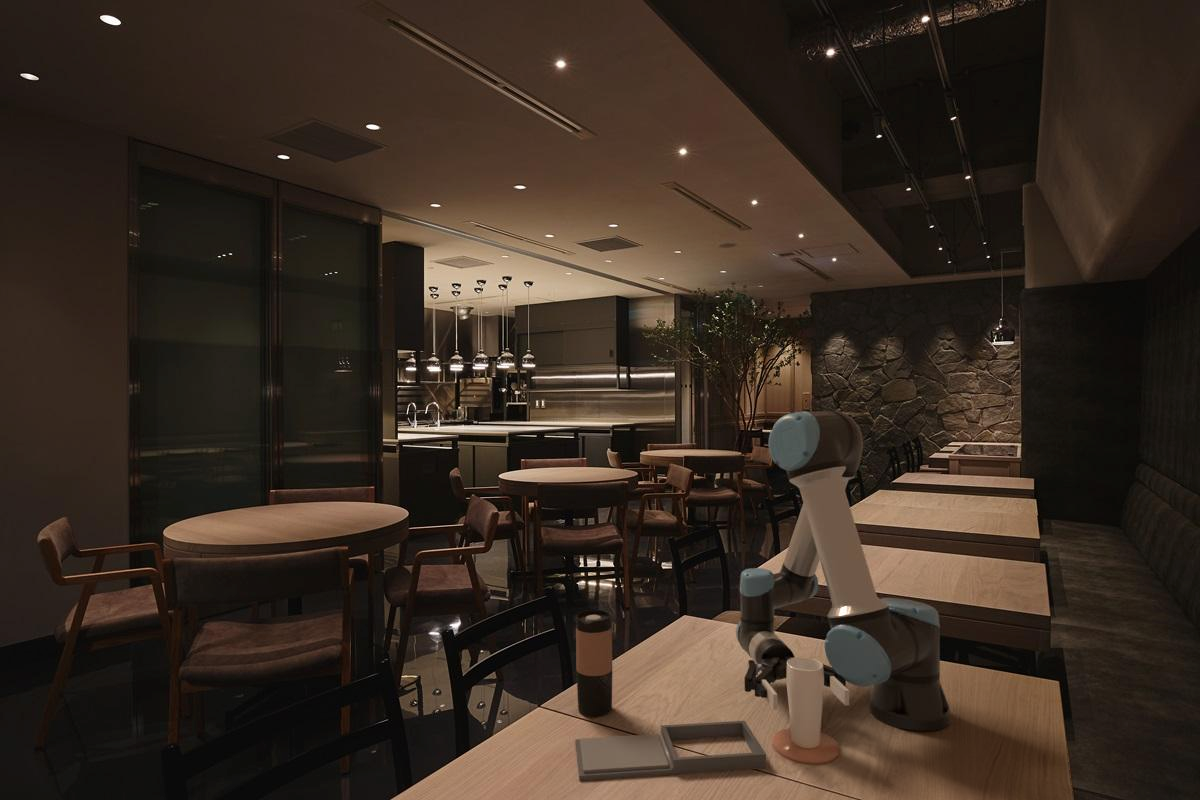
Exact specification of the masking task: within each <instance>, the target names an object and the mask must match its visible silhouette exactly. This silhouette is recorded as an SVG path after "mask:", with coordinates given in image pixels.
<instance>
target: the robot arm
mask: <svg viewBox="0 0 1200 800" xmlns="http://www.w3.org/2000/svg"><path fill="white" fill-rule="evenodd" d="M861 431H862V430H861V428H860V427H859V425H858V423H856V421H855V420H854V419H853V418H852V417H850V416H849V415H848V414H846V413H844V412H841V411H838V410H824V411H823V410H821V411H806V410H804V411H801V410H800V411H798V412H792V413H791V412H790V413H788V414H785V415H782V416H781V417H780V418H779V419H777V421H776V422H775V423H774V425H773V427H772V430H771V431H770V433H769V437H768V450H769V455H770V458H771V459H772V461H773V463H774V464H775V465H777V466H778V467H779V468H780V469H783V470H784V471H786V474H787V477H788V481H789V483H791V484H792V485H794V486H796V487H797V488H798V490H799V492H800V495H801V496H800V497H801V499H802V502H803V503H802V507H801V509H800V512H799V515H798V519H797V521H796V524H795V527H794V530H793V533H792V536H791V540H790V543H789V545H788V547H787V550H786V551H787V552H786V553H785V557H784V560H783V563H782V566H781V568H780V570H779V572H777V573H773V572H772V571H771V569H770V570H769V569H767V568H759V567H758V568H757V567H754V568H746V569H744V570H743V571H741V573H740V581H739V593H740V594H739V596H740V599H739V600H740V601H739V602H740V620H739V622H738V623H737V625H736V628H735V636H736V639H737V641H738V643H739V645H740V646H741V649H742V650H744V652H746V654H747V655H748V656H749V657H750V658H751V660H748V665H747V666H748V667H747V671H746V674H745V676H744V692H746V693H750V692H752V691H754V696H755V697H756V698H757V697H758V698H762V699H765V700H766V702H767V703H768V704H769V705H770V707H771V708H772V710H778V693H777V692H776V690H774V688H773V687H772V686H771V685H770V684H771V683H775V682H777V681H779V680H783V679H786V669H787V661H788V660H789V659H791V658H794V657H796V656H795V654H794V652H793V651H792V650H791V648H789V646H788V645H787V644H786V643H785V642H784V641H783V640H781V638H779V637H778V635H777V634H775V609H779V608H781V607H785V606H789V605H793V604H797V603H802V602H804V601H805V602H806V601H807V600H808V599H810V598H813V597H814V596H816V594H817V593H818V591H819V588H820V587H819V579H818V578H819V577H817V574H816V571H817V569H818V566H819V563H820V565H821V569H822V573H823V576H824V579H825V584H826V587H827V590H828V594H829V596H830V601H831V604H832V606H831V608H830V610H829V612H828V614H827V618H828V622H829V626H830V630H829V631H828V632H827V634H826V638H825V639H824V642H823V643H824V653H825V655H826V656H825V657H826V658H827V661H828V663H829V665H830V666H829V665H828V664H824V663H822V664H823V669H824V687H827V688H829V691H830V692H831V693H832V694H833V695H834V696H835V697H837V699H838V700H839V701H840V702H841V703H842V704H843V705H844V706H850V690H849V689H848V688H847V683H849V684H851V685H854V686H856V687H863V688H865V687H866V688H867V687H871V686H872V688H871V692H870V694H869V698H868V699H869V700H868V701H869V702H868V704H869V711H870V713H871V714H872V715H873V716H874V717H875V718H876V719H878V720H879V721H880V722H883V723H885V724H887V725H891V726H893V727H895V728H899V729H903V730H907V731H915V732H935V731H939V730H943V729H945V728H946V727H948V726H949V725H950V722H951V711H950V705H949V704H948V703H949V702H948V700H947V698H946V694H945V692H944V688H943V687H942V683H941V672H940V671H941V665H940V663H941V659H940V656H941V654H940V653H941V652H940V648H941V645H940V644H941V643H940V638H941V637H940V629H941V625H940V619H939V618H940V617H939V616H940V615H939V612H938V611H937V609H936V608H935V607H933V606H932V605H930V604H927V603H924V602H919V601H916V600H911V599H905V598H898V597H883V598H882V597H881V598H879V597H878V595H877V592H876V588H875V586H874V583H873V579H872V575H871V573H870V568H869V565H868V562H867V559H866V555H865V553H864V550H863V546H862V542H861V539H860V536H859V532H858V530H857V526H856V523H855V519H854V516H853V513H852V509H851V506H850V503H849V500H848V497H847V493H846V488H847V485H848V483H849V481H850V480H852V479H854V478H855V477H856V475H857V471H858V468H859V467H860V463H861V459H862V456H863V449H864V448H863V447H864V442H863V441H864V440H863V434H862V432H861ZM807 657H808V656H807ZM808 658H811V657H808ZM948 724H949V725H948Z"/></svg>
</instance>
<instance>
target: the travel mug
mask: <svg viewBox="0 0 1200 800" xmlns="http://www.w3.org/2000/svg"><path fill="white" fill-rule="evenodd" d="M575 625H576V626H575V638H576V639H575V641H576V642H575V650H576V651H575V652H576V653H575V655H576V656H575V657H576V659H575V660H576V663H575V664H576V665H575V666H576V687H577V688H576V689H577V691H576V692H577V709H578V712H579V713H580V715H582V714H583V716H584V715H585V716H584V717H588V716H589V717H588V718H598V716H601V717H604V716H603V715H605V716H607V715H608V713H609V712H610V711H611V712H612V708H613V639H612V638H613V637H612V636H613V635H612V630H613V629H612V615H611V613H610V612H608V611H606V610H599V609H590V610H589V609H588V610H584V611H580V612H578V613H577V614H576V617H575ZM611 712H610V713H611ZM610 713H609V714H610ZM606 714H607V715H606Z"/></svg>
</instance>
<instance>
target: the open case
mask: <svg viewBox="0 0 1200 800" xmlns="http://www.w3.org/2000/svg"><path fill="white" fill-rule="evenodd" d="M739 736H742V738H743V739H744V741H745V743H746V744H747V746H748V748H749V749H750V751H751V752H741V753H740V752H739V753H728V754H727V753H725V754H724V753H723V754H712V755H711V754H710V755H697V756H696V755H695V756H694V755H693V756H691V755H690V756H680V757H679V756H677V753H676V751H675V748H674V745H673V743H672V741H674V740H675V741H676V740H692V739H706V738H709V739H710V738H723V737H724V738H726V737H739ZM574 743H575V744H574V745H575V753H577V754H576V762H577V771H578V780H580V781H590V780H589V779H595V780H608V779H609V780H610V779H621V778H623V779H624V778H625V779H626V778H638V777H654V776H668V775H682V774H683V775H685V774H698V773H715V772H729V771H730V772H731V771H743V770H744V771H746V770H757V769H760V770H762V769H763V770H764V769H767V753H766V752H765V750H764V749H763V748H762V746H761V744H760V742H759V741H758V739H757V738H756V736H755V735H754V733H753V732H752V729H751V728H750V727H749V725H748V724H747V722H746V720H732V721H730V720H729V721H717V722H716V721H713V722H700V723H699V722H698V723H682V724H681V723H680V724H664V725H660V732H659V733H653V734H652V733H651V734H650V733H649V734H637V735H635V734H634V735H633V734H632V735H621V736H620V735H617V736H616V735H615V736H603V737H600V736H599V737H587V738H586V737H585V738H576V739H575V740H574Z"/></svg>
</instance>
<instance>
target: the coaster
mask: <svg viewBox="0 0 1200 800" xmlns="http://www.w3.org/2000/svg"><path fill="white" fill-rule="evenodd" d="M771 741H772V748H773V749H774V750H775V751H776V752H777V754H779V755H781V756H782V757H784V758H786V759H788V760H791V761H794V762H797V763H801V764H809V765H820V764H828V763H830V762H832V761H834V760H836V759H837V758H838V757H839V755H840V745H839V744H838V742H837V740H835V739H834V738H833V737H831V736H830V735H828V734H826V733H824V732H822V731H821V741H820V745H819V746H818V747H816V748H812V749H806V748H801V747H799V746H797V745H795V744H794V743H793V742H792V740H791V727H790V728H785V729H782V730H779V731H778V732H776V733H774V734H773V736H772V740H771Z"/></svg>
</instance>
